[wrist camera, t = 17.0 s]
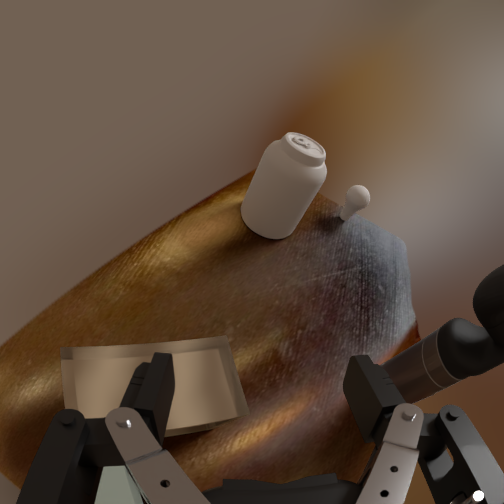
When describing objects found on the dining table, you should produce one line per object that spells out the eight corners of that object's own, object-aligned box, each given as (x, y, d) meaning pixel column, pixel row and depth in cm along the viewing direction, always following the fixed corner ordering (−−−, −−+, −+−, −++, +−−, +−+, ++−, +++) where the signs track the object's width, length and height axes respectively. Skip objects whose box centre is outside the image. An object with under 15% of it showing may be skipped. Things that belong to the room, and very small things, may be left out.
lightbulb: (354, 229, 74) (378, 199, 66) (335, 225, 72) (359, 193, 64) (347, 213, 78) (369, 183, 70) (329, 208, 76) (350, 177, 68)
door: (137, 456, 28) (133, 459, 19) (155, 514, 24) (160, 540, 14) (100, 459, 26) (79, 461, 17) (117, 517, 22) (106, 544, 12)
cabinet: (199, 375, 39) (226, 335, 28) (235, 498, 28) (284, 515, 18) (71, 385, 31) (38, 347, 20) (100, 517, 21) (77, 548, 10)
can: (227, 213, 61) (261, 131, 47) (259, 192, 70) (293, 120, 56) (275, 250, 59) (322, 172, 45) (302, 224, 68) (345, 154, 53)
